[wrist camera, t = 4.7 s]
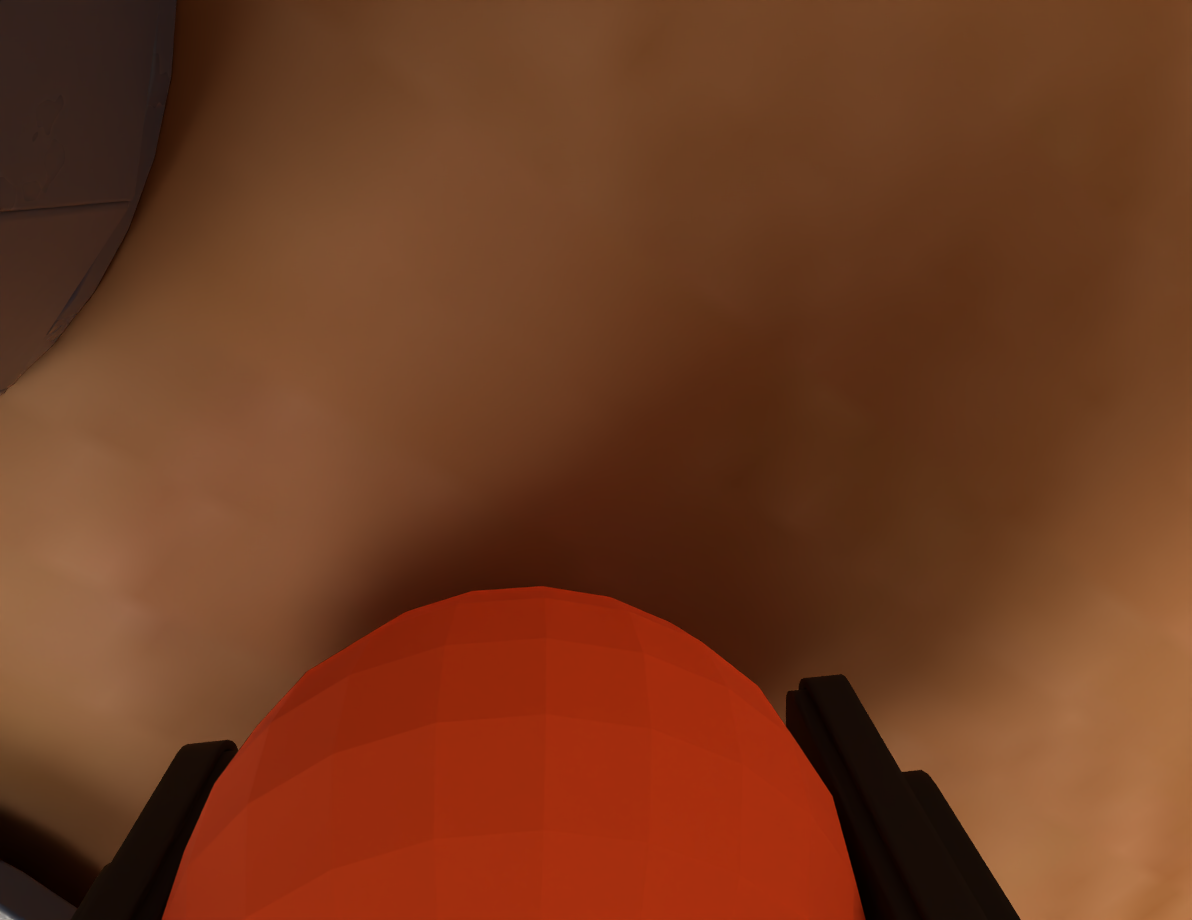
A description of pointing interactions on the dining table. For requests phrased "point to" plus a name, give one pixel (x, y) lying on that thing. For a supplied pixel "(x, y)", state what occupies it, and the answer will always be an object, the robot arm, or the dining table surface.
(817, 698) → the robot arm
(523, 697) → the clementine
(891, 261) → the dining table surface
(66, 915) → the lid
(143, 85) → the tin
